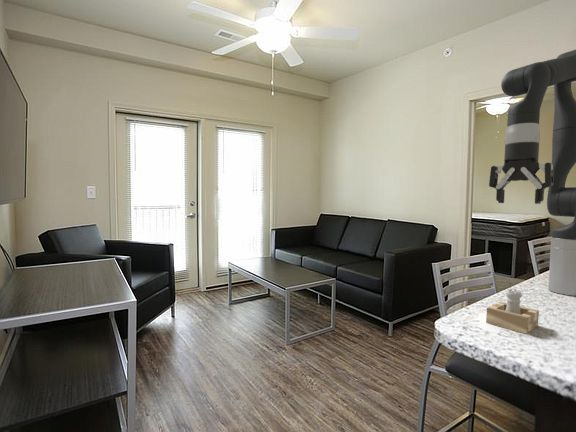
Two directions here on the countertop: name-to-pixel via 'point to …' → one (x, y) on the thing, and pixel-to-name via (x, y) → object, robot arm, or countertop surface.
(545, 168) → the robot arm
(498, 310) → the socket block
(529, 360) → the countertop surface
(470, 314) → the countertop surface
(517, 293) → the rook chess piece
